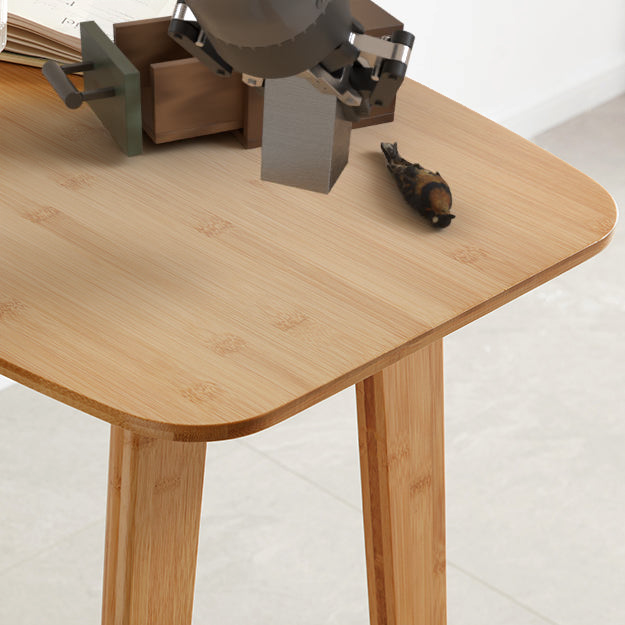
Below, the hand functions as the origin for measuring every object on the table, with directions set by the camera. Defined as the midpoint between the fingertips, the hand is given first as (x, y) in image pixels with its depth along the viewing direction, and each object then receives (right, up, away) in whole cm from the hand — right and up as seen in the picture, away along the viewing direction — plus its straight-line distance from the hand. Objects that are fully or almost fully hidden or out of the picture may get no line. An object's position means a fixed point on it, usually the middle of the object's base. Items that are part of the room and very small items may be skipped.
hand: (318, 99), depth 70 cm
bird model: (+7, -4, +16) cm, 18 cm away
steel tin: (-1, -4, +1) cm, 5 cm away
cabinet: (-2, +4, +27) cm, 27 cm away
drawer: (-13, +2, +21) cm, 25 cm away
